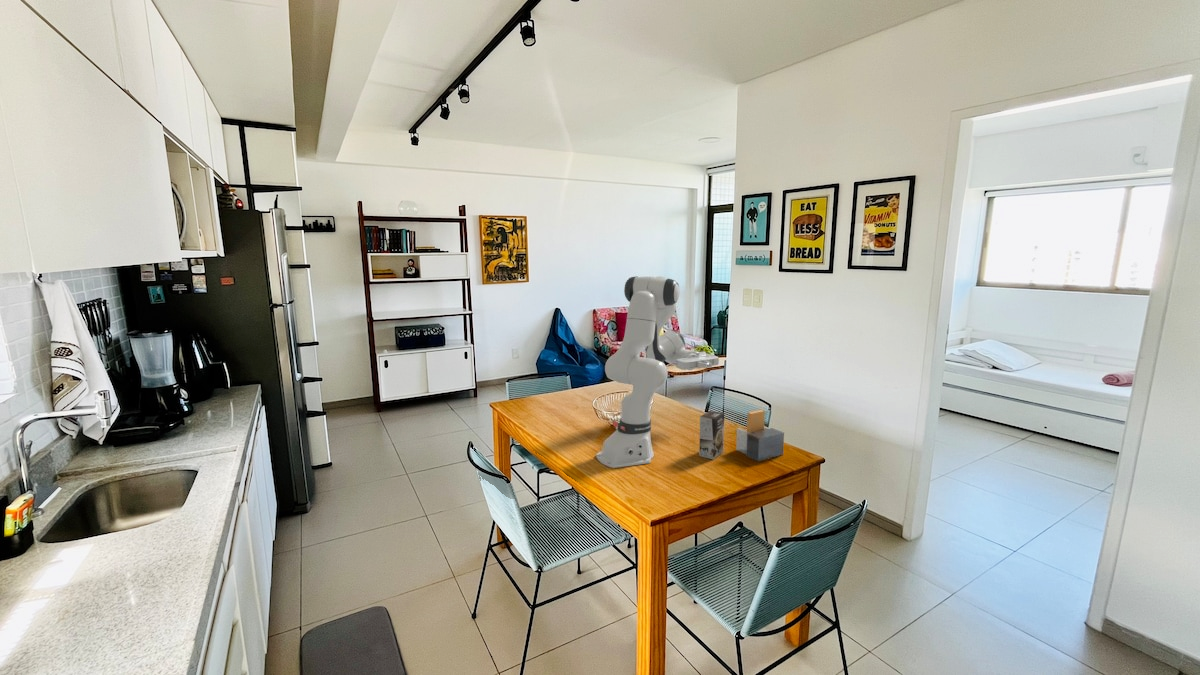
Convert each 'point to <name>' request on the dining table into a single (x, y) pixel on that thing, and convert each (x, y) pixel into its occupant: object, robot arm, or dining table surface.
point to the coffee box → (711, 434)
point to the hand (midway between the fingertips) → (709, 365)
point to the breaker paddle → (755, 421)
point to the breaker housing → (760, 443)
